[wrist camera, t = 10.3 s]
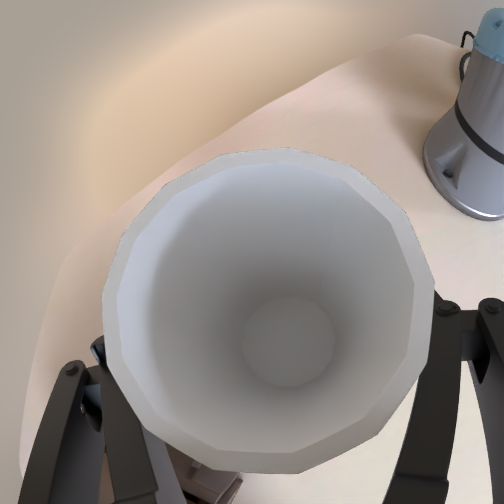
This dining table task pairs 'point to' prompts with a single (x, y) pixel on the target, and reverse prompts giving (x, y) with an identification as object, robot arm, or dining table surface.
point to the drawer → (199, 478)
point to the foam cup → (268, 311)
